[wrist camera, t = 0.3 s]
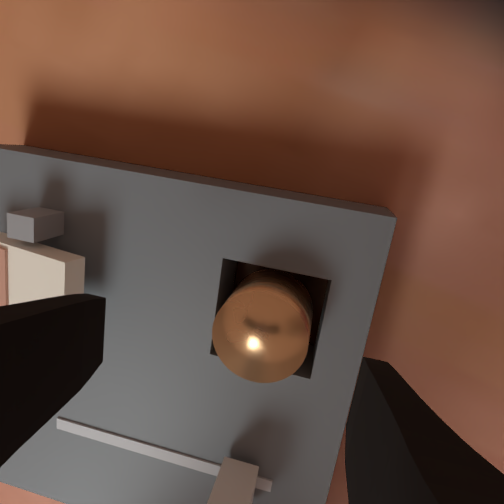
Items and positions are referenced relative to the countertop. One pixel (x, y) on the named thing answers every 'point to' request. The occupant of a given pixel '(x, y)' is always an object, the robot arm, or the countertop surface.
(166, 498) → the panel
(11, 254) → the rocker switch
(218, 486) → the tan rectangular block
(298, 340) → the push button
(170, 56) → the countertop surface
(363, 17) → the countertop surface
